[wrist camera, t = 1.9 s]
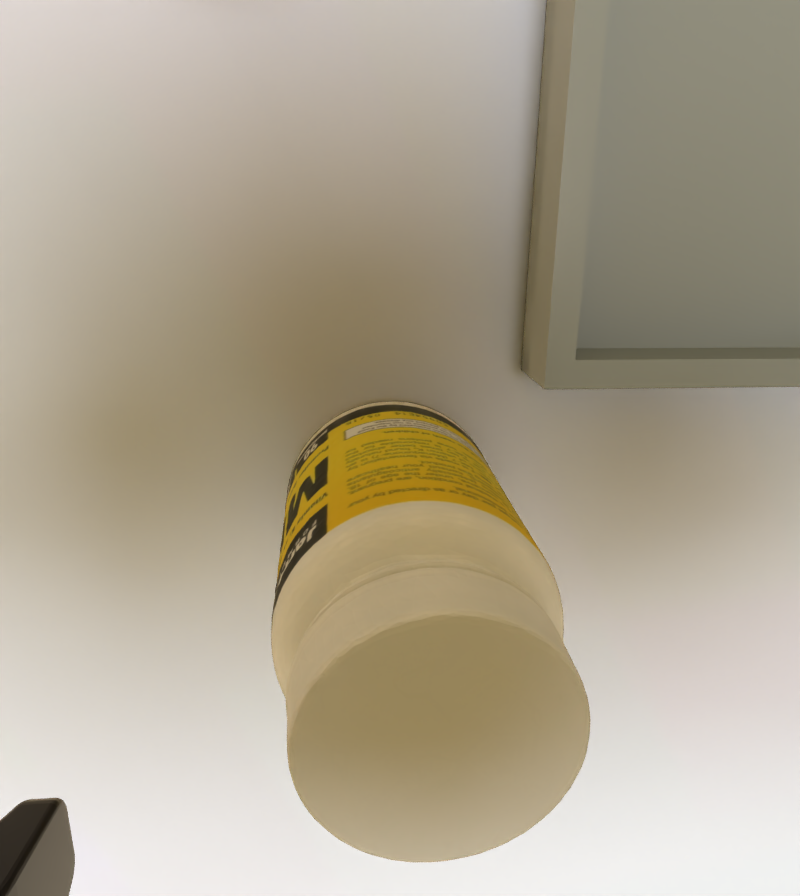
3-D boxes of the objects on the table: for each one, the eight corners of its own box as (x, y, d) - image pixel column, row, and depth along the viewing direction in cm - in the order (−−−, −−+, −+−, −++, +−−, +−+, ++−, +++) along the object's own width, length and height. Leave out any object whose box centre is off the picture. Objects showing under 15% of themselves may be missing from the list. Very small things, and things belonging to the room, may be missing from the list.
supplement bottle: (291, 390, 16) (261, 574, 8) (498, 402, 17) (656, 585, 9) (283, 582, 18) (251, 894, 10) (473, 587, 18) (591, 884, 10)
